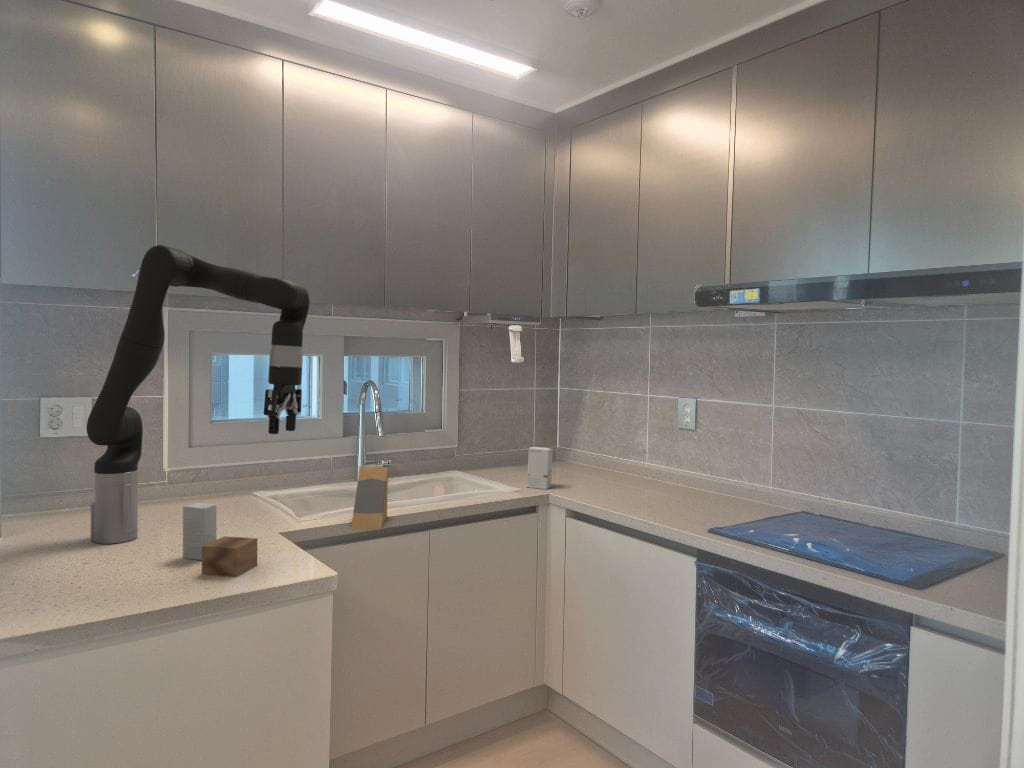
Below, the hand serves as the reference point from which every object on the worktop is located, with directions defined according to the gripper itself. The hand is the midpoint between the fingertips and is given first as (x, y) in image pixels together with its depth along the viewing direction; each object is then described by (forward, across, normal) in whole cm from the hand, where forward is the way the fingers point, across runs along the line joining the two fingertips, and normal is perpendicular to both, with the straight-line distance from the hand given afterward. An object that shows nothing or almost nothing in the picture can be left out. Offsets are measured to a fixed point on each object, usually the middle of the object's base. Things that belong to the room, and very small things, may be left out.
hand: (282, 432), depth 154 cm
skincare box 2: (+24, -93, +57) cm, 111 cm away
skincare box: (+29, +8, -14) cm, 34 cm away
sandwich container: (+28, -30, +13) cm, 43 cm away
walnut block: (+29, +16, -2) cm, 33 cm away
